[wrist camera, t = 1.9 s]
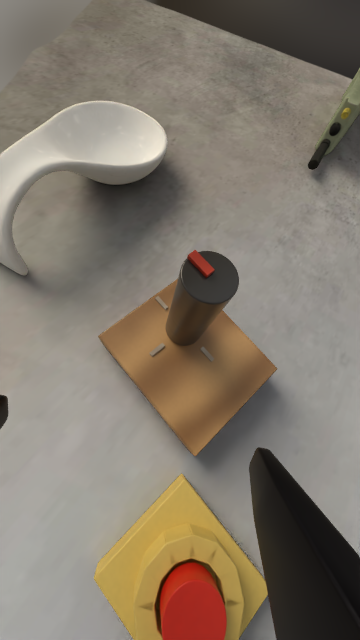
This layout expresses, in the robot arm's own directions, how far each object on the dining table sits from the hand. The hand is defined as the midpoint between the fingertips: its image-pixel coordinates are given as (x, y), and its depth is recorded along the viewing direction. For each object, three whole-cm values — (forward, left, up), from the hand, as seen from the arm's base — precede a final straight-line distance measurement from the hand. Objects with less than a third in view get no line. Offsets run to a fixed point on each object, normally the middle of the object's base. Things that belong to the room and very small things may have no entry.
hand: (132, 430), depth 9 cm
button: (-10, +4, -10) cm, 15 cm away
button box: (-10, +4, -13) cm, 17 cm away
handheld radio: (+13, -49, -13) cm, 52 cm away
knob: (+3, -8, -10) cm, 13 cm away
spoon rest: (+22, -10, -13) cm, 28 cm away
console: (+1, -7, -13) cm, 14 cm away
